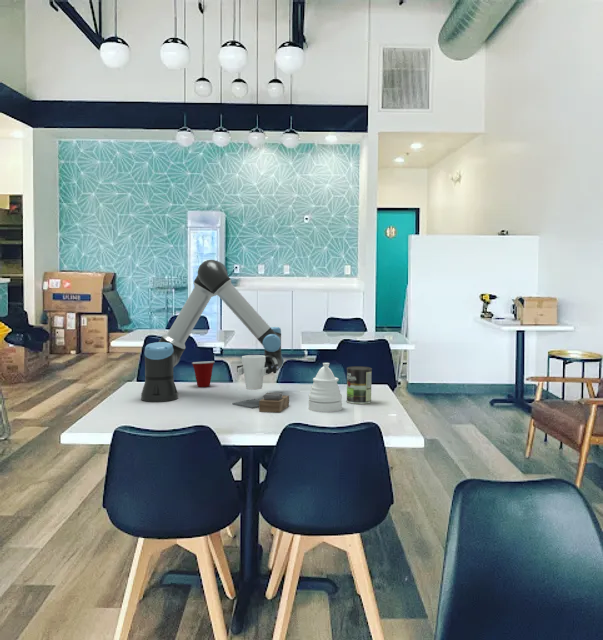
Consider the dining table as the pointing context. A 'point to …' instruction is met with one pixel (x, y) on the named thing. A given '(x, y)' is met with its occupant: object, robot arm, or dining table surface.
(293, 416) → the dining table surface
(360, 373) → the coffee can
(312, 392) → the honey pot
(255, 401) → the coaster
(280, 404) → the walnut block
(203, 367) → the plastic cup
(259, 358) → the foam cup
